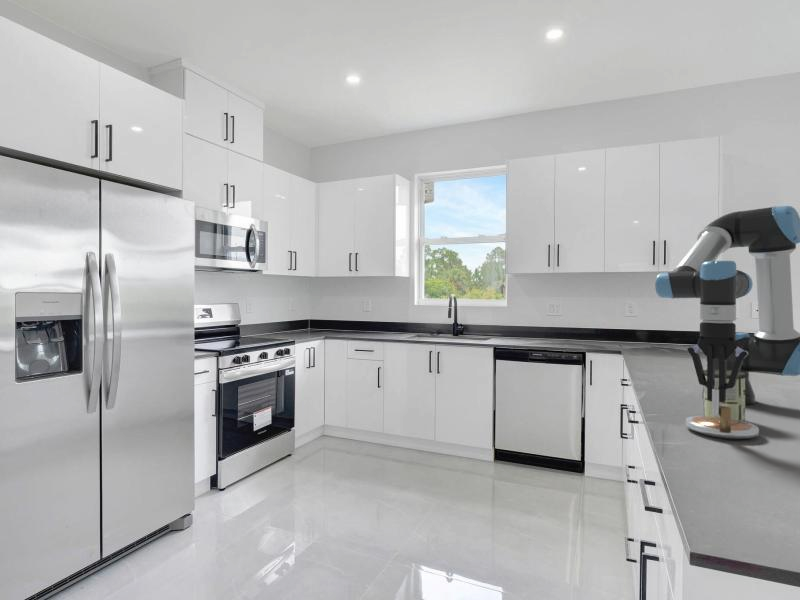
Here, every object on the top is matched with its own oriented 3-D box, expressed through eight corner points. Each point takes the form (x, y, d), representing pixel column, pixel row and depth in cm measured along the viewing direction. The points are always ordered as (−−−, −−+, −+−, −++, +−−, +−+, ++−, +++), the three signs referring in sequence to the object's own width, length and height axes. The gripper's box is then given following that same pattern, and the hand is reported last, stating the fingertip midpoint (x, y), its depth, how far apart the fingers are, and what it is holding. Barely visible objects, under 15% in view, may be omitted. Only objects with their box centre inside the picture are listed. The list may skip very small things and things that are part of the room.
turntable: (683, 418, 134) (683, 392, 134) (752, 425, 126) (752, 397, 126) (688, 433, 119) (688, 404, 119) (766, 442, 111) (766, 411, 111)
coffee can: (698, 414, 142) (698, 368, 142) (738, 416, 139) (738, 370, 139) (708, 422, 133) (708, 373, 133) (751, 425, 129) (751, 375, 129)
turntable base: (700, 423, 132) (700, 421, 132) (752, 432, 123) (752, 429, 123) (689, 433, 123) (689, 430, 123) (744, 442, 115) (744, 439, 115)
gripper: (684, 321, 119) (683, 412, 120) (746, 323, 110) (745, 422, 110) (691, 320, 124) (690, 407, 125) (751, 322, 115) (750, 416, 116)
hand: (716, 414), depth 118 cm, fingers closed
